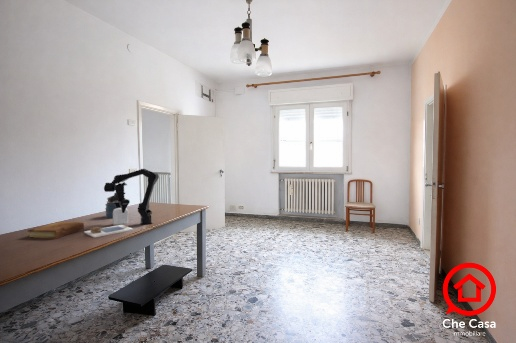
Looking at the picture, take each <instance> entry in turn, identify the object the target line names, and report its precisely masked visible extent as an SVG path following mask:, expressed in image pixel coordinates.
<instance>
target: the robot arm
mask: <svg viewBox="0 0 516 343" xmlns="http://www.w3.org/2000/svg"><path fill="white" fill-rule="evenodd" d="M141 175H143V177H145V178H147V187H146V190H145V192H144V197H143V200H142V202H141V203H138V207H137V212H138V214H139V215H140V224H141V225H144V226H146V225H151V224H153V222H152V214H153V211H152V210H151V209H150V200H151V197H152V195H153V194H152V193H153V192H154V187H155V184H157V182H158V180H159V178H160V176H159V174H158V173H157V172H153V171H151V170H148V169H146V168H140V169H138V170H135V171H132V172H128V173H124V174H123V173H122V174H116V175H115V176H114V177H113V180H112V181H111V182H105V184H104V187H103V190H104V193H108V192H109V193H112V192H113V193H114V194H113V195H112V196H109V197H107V198H106V200H107V201H108V202H110V203H111V202H113V204H114V205H115V207H116V209H117V208H120V206H121V209H122V213H124V212H125V210H126V208H127V209H128V206H129V204H130V199H127V198H126V197H125V195H126V192H125V186H128V184H127V183H126V182H125V181H127V180H129V179H132V178H135V177H138V176H141Z"/></svg>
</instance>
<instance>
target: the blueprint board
mask: <svg viewBox="0 0 516 343" xmlns="http://www.w3.org/2000/svg"><path fill="white" fill-rule="evenodd" d="M130 231H134V228H133V227H129V226H127V225H124V224H119V225H113V226H107V227H99V226H92V227H90V230H86V231H85V230H84V232H83V233H84V234H85V235H87V236H89V237H92V238H99V237H103V236H109V235H113V234H114V235H115V234H120V233H124V232H130Z"/></svg>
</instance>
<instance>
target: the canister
mask: <svg viewBox="0 0 516 343" xmlns="http://www.w3.org/2000/svg"><path fill="white" fill-rule="evenodd" d="M120 208H121V206H120ZM104 209H105V218H106V219H113V210H114V209H116V207H115V205H114V204H113V202H111V203H110V202H108V200H107V201H106V203H105V208H104Z"/></svg>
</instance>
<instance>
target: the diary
mask: <svg viewBox="0 0 516 343" xmlns="http://www.w3.org/2000/svg"><path fill="white" fill-rule="evenodd" d="M84 229H85V223H84V222H82V221H80V222H78V221H75V222H74V221H73V222H71V221H69V222H67V221H66V222H64V221H61V222H60V221H58V222H55V223H50V224H46V225H42V226H39V227H34V228H31V229H27V233H29V238H30V237H34V238H33V239H50V240H51V239H52V240H54V239H55V240H56V239H60V238H62V237H65V236H68V235H70V234H74V233H77V232H79V231H82V230H84Z"/></svg>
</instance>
